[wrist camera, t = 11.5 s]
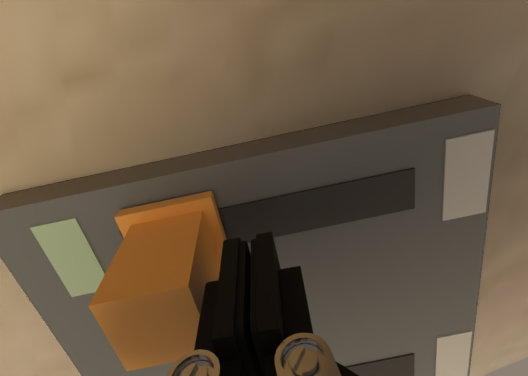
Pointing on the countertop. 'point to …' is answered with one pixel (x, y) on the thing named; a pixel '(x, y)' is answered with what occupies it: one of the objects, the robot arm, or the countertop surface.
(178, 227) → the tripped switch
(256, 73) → the countertop surface
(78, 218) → the panel
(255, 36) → the countertop surface
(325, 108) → the countertop surface
